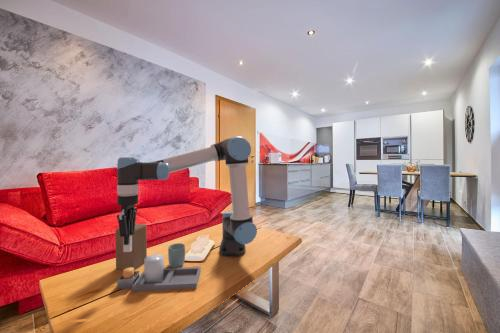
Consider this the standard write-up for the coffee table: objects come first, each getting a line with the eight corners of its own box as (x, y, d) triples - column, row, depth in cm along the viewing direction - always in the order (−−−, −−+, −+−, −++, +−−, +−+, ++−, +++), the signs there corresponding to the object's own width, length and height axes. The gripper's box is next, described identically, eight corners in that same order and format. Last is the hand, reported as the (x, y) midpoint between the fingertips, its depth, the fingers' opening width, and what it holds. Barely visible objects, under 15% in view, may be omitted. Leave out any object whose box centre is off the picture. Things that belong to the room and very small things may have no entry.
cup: (165, 266, 105) (165, 246, 104) (179, 260, 110) (179, 242, 110) (173, 272, 99) (173, 251, 99) (187, 266, 105) (187, 246, 105)
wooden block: (133, 272, 99) (132, 230, 98) (114, 270, 101) (114, 228, 100) (147, 262, 108) (147, 223, 108) (130, 260, 110) (130, 222, 110)
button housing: (139, 281, 92) (139, 271, 91) (133, 289, 86) (133, 278, 85) (124, 282, 91) (124, 271, 91) (117, 290, 85) (117, 279, 85)
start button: (135, 276, 90) (135, 267, 90) (131, 281, 86) (131, 272, 86) (125, 276, 90) (125, 267, 90) (121, 282, 86) (121, 272, 86)
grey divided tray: (200, 272, 99) (200, 266, 99) (196, 289, 86) (196, 283, 86) (145, 274, 97) (145, 269, 97) (131, 293, 83) (131, 286, 83)
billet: (165, 275, 95) (165, 253, 95) (160, 285, 87) (160, 262, 87) (148, 276, 94) (148, 254, 94) (141, 286, 87) (141, 262, 86)
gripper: (125, 192, 93) (125, 245, 94) (109, 197, 80) (109, 258, 81) (143, 192, 94) (143, 244, 95) (130, 197, 81) (130, 258, 82)
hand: (127, 251), depth 88 cm, fingers closed
